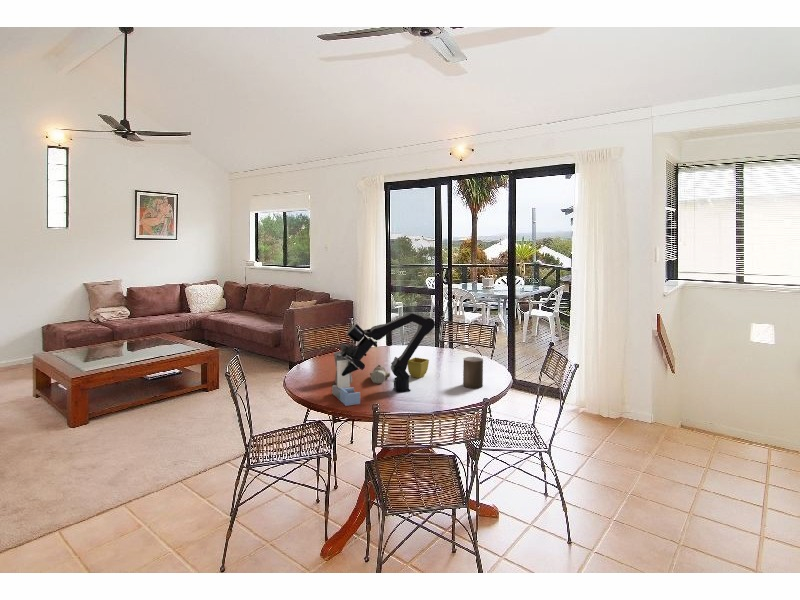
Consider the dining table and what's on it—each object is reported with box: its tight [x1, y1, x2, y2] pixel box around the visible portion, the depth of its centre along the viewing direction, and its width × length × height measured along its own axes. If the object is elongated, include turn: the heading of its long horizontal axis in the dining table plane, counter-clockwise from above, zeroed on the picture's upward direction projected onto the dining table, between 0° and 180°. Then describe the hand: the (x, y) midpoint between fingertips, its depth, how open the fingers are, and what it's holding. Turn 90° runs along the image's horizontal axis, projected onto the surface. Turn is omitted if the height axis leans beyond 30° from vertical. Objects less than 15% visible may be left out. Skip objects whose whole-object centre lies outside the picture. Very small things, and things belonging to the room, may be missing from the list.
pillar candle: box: [462, 356, 484, 389], centre depth 242 cm, size 10×10×15 cm
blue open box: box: [331, 384, 355, 401], centre depth 227 cm, size 7×11×4 cm, turn 26°
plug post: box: [336, 360, 351, 389], centre depth 226 cm, size 4×4×12 cm
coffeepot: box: [333, 350, 353, 385], centre depth 249 cm, size 15×9×18 cm, turn 159°
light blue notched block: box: [339, 386, 361, 407], centre depth 219 cm, size 7×9×6 cm
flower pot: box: [407, 357, 430, 379], centre depth 258 cm, size 9×9×9 cm
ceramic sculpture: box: [369, 364, 391, 385], centre depth 251 cm, size 11×9×15 cm
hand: (340, 374), depth 226 cm, fingers closed on plug post, 4 cm apart
